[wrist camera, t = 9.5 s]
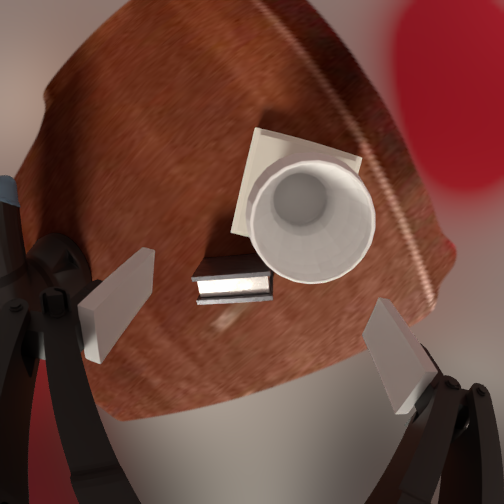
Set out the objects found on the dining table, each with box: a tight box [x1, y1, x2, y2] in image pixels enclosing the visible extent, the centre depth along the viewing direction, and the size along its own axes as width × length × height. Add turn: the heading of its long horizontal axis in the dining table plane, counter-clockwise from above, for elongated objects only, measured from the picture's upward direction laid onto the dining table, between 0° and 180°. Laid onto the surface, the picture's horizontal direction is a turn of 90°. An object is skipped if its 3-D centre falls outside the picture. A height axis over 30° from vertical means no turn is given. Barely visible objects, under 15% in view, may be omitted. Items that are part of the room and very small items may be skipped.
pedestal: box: [230, 127, 362, 237], centre depth 36 cm, size 14×14×4 cm
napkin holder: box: [191, 253, 273, 305], centre depth 39 cm, size 10×4×7 cm, turn 97°
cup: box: [245, 152, 375, 284], centre depth 27 cm, size 11×11×15 cm
